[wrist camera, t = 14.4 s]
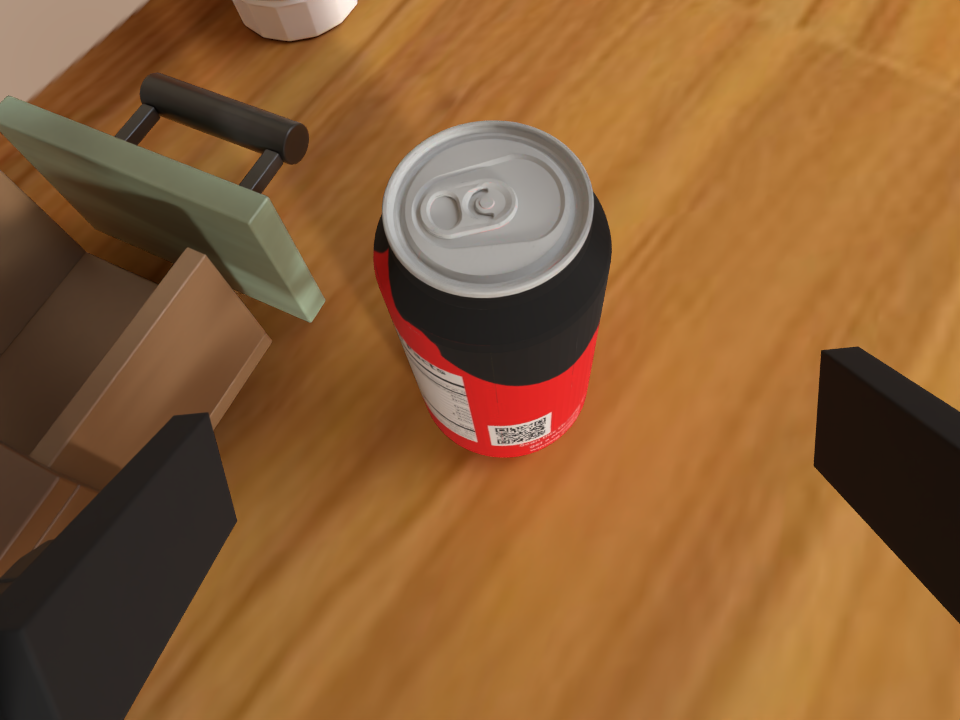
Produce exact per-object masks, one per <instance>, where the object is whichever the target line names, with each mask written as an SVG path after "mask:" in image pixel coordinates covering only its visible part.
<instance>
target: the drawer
mask: <svg viewBox="0 0 960 720" xmlns="http://www.w3.org/2000/svg"><path fill="white" fill-rule="evenodd" d="M140 99H141V102H142V105H141V106H140V107H139V109H138V110H137V111H136V112H135V113H134V114H133V115H132V117H131V118H130V119H129V120H128V121H127V122H126V124H125V125H124V126H123V127H122V128H121V129H120V131H119V132H118V133H117V134H116V135H115V136H111V135H109V134H106V133H104V132H101V131H99V130H96V129H93V128H91V127H88V126H86V125H83V124H81V123H78V122H76V121H73V120H70V119H68V118H65V117H63V116H60V115H58V114H55V113H53V112H50V111H47V110H45V109H42V108H40V107H37V106H35V105H32V104H30V103H27V102H24V101H22V100H19V99H17V98H14V97H12V96H7V97H6V98H5V99H4V100H3V101H2V102H1V103H0V132H1V133H2V134H3V135H4V136H5V137H6V138H7V139H8V140H9V141H10V142H11V143H12V144H13V145H14V146H15V147H16V148H17V149H18V150H19V151H20V153H21V154H22V155H23V156H24V157H25V158H26V159H27V160H28V161H29V162H30V163H31V164H32V165H33V166H34V167H35V168H36V169H37V170H38V171H39V172H40V173H41V174H42V175H43V176H44V177H45V178H46V179H47V180H48V181H49V182H50V183H51V184H52V185H53V186H54V187H55V188H56V189H57V190H58V191H59V192H60V193H61V194H62V195H63V197H64V198H65V199H66V200H67V201H68V202H69V203H70V204H71V205H72V206H73V207H74V208H75V209H76V210H77V211H78V212H79V213H80V214H81V215H82V216H83V217H84V218H85V219H86V220H87V221H88V222H89V223H90V224H91V225H92V226H93V227H94V228H95V229H96V230H99V231H101V232H103V233H106V234H108V235H110V236H112V237H115V238H117V239H119V240H122V241H124V242H126V243H128V244H131V245H133V246H135V247H138V248H140V249H142V250H145V251H147V252H149V253H151V254H154V255H156V256H158V257H161V258H163V259H165V260H167V261H170V262H172V263H174V265H173V266H172V267H171V269H170V270H169V271H168V273H167V274H166V275H165V277H164V278H163V279H162V281H161V282H160V283H159V284H157V283H154V282H152V281H150V280H148V279H145V278H143V277H141V276H139V275H136V274H134V273H132V272H130V271H128V270H125V269H123V268H121V267H119V266H116V265H114V264H112V263H110V262H107V261H105V260H103V259H101V258H99V257H96V256H94V255H92V254H90V253H87V252H85V250H84V249H83V248H82V247H81V246H80V245H79V244H78V243H77V242H76V241H74V240H73V239H72V238H71V237H70V236H69V235H68V234H67V233H66V232H65V231H64V230H63V229H62V228H61V227H60V226H59V225H58V224H57V223H56V222H55V221H53V220H52V219H51V218H50V217H49V216H48V215H47V214H46V213H45V212H44V211H43V210H42V209H41V208H40V207H39V206H38V205H37V204H36V203H35V202H34V201H32V200H31V199H30V198H29V197H28V196H27V195H26V194H25V193H24V192H23V191H22V190H21V189H20V188H19V187H18V186H17V185H16V184H15V183H14V182H13V181H11V180H10V179H9V178H8V177H7V176H6V175H5V174H4V173H3V172H2V171H1V170H0V440H1V441H3V442H4V443H6V444H8V445H10V446H12V447H13V448H15V449H17V450H19V451H21V452H22V453H24V454H26V455H28V456H30V457H31V458H33V459H35V460H37V461H39V462H40V463H42V464H44V465H46V466H48V467H49V468H51V469H53V470H55V471H56V472H58V473H61V474H64V475H66V476H68V477H71V478H73V479H75V480H77V481H80V482H82V483H84V484H87V485H89V486H91V487H94V488H96V489H98V490H102V489H103V488H104V487H105V486H106V485H107V484H108V483H109V482H110V481H111V480H112V479H113V478H114V477H115V476H116V475H117V474H118V473H119V472H120V471H121V470H122V469H123V467H124V466H125V465H126V464H127V463H128V462H129V461H130V460H131V459H132V458H133V457H134V456H135V455H136V454H137V453H138V452H139V451H140V450H141V449H142V448H143V447H144V446H145V445H146V444H147V443H148V442H149V441H150V439H151V438H152V437H153V436H154V435H155V434H156V433H157V432H158V431H159V430H160V429H161V428H162V427H163V426H164V425H165V424H166V423H167V422H168V421H169V420H170V419H171V418H172V417H173V416H174V415H184V414H194V413H204V412H208V413H209V416H210V420H211V424H212V428H213V430H214V429H215V427H216V426H217V424H218V423H219V421H220V420H221V418H222V417H223V415H224V414H225V412H226V411H227V409H228V408H229V406H230V405H231V403H232V402H233V400H234V399H235V397H236V396H237V394H238V393H239V391H240V390H241V388H242V387H243V385H244V384H245V382H246V381H247V379H248V378H249V376H250V375H251V373H252V372H253V370H254V369H255V367H256V366H257V364H258V363H259V361H260V360H261V358H262V357H263V355H264V354H265V352H266V351H267V349H268V348H269V346H270V345H271V343H272V340H271V339H270V337H269V336H268V335H267V333H266V332H265V330H264V329H263V328H262V327H261V325H260V324H259V323H258V321H257V320H256V319H255V318H254V316H253V315H252V314H251V312H250V311H249V310H248V309H247V307H246V306H245V305H244V303H243V302H242V301H241V300H240V298H239V297H238V296H237V294H236V293H235V292H234V290H236V291H239V292H241V293H243V294H245V295H248V296H250V297H252V298H255V299H257V300H259V301H261V302H264V303H266V304H268V305H271V306H273V307H275V308H278V309H280V310H282V311H284V312H287V313H289V314H291V315H294V316H296V317H298V318H300V319H303V320H305V321H307V322H312V321H313V319H314V318H315V316H316V315H317V313H318V312H319V310H320V309H321V307H322V306H323V304H324V302H325V298H324V297H323V295H322V293H321V291H320V289H319V287H318V286H317V284H316V282H315V280H314V278H313V277H312V275H311V273H310V271H309V269H308V268H307V266H306V264H305V262H304V260H303V259H302V257H301V255H300V253H299V251H298V249H297V248H296V246H295V244H294V242H293V240H292V239H291V237H290V235H289V233H288V231H287V230H286V228H285V226H284V224H283V222H282V220H281V219H280V217H279V215H278V213H277V211H276V210H275V208H274V206H273V204H272V202H271V201H270V199H269V197H267V196H265V195H262V194H261V193H262V192H263V190H264V189H265V188H266V186H267V185H268V184H269V182H270V181H271V180H272V178H273V177H274V176H275V174H276V173H277V171H278V170H279V169H280V167H281V166H282V165H283V162H285V163H287V164H291V165H293V164H297V163H298V162H300V161H301V160H302V158H303V157H304V155H305V153H306V151H307V148H308V143H309V134H308V130H307V128H306V127H305V126H304V125H303V124H302V123H299V122H296V121H293V120H290V119H288V118H285V117H282V116H279V115H276V114H274V113H271V112H268V111H265V110H262V109H259V108H257V107H254V106H251V105H248V104H245V103H243V102H240V101H237V100H234V99H231V98H228V97H226V96H223V95H220V94H217V93H214V92H212V91H209V90H206V89H203V88H200V87H197V86H195V85H192V84H189V83H186V82H183V81H181V80H178V79H175V78H172V77H169V76H167V75H164V74H161V73H152V74H150V75H148V76H147V77H146V78H145V79H144V81H143V83H142V85H141V88H140ZM160 116H162V117H164V118H167V119H170V120H172V121H175V122H178V123H180V124H183V125H186V126H188V127H191V128H194V129H196V130H199V131H202V132H204V133H207V134H210V135H212V136H215V137H218V138H221V139H223V140H226V141H229V142H231V143H234V144H237V145H239V146H242V147H245V148H247V149H250V150H253V151H255V152H258V153H261V154H262V155H261V157H260V158H259V159H258V160H257V162H256V163H255V164H254V166H253V167H252V168H251V170H250V171H249V172H248V174H247V175H246V176H245V178H244V179H243V180H242V182H241V183H240V184H239V185H237V184H234V183H232V182H229V181H227V180H224V179H221V178H219V177H216V176H214V175H211V174H209V173H206V172H203V171H201V170H198V169H196V168H193V167H191V166H188V165H186V164H183V163H180V162H178V161H175V160H173V159H170V158H168V157H165V156H163V155H160V154H157V153H155V152H152V151H150V150H147V149H145V148H142V147H140V146H137V145H138V144H139V143H140V141H141V140H142V139H143V138H144V137H145V136H146V134H147V133H148V132H149V131H150V130H151V128H152V127H153V126H154V125H155V124H156V123H157V121H158V120H159V119H160ZM233 289H234V290H233Z"/></svg>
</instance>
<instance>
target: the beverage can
mask: <svg viewBox="0 0 960 720" xmlns="http://www.w3.org/2000/svg"><path fill="white" fill-rule="evenodd" d="M611 253H612V244H611V235H610V230H609V226H608V222H607V219H606V215H605V213H604V210H603V208H602V206H601V204H600V202H599V200H598V198H597V197H596V195H595V194H594V192H593V190H592V186H591V182H590V179H589V177H588V174H587V172H586V170H585V168H584V166H583V165H582V163H581V162H580V160H579V159H578V158H577V157H576V155H575V154H574V153H573V152H572V151H571V150H570V149H569V148H568V147H567V146H566V145H564V144H563V143H562V142H561V141H559V140H558V139H556V138H555V137H553V136H551V135H550V134H548V133H546V132H544V131H541V130H539V129H537V128H534V127H531V126H528V125H524V124H520V123H515V122H508V121H478V122H471V123H466V124H462V125H458V126H455V127H451V128H449V129H446V130H444V131H441V132H439V133H437V134H435V135H433V136H431V137H430V138H428V139H426V140H425V141H423V142H422V143H420V144H419V145H418V146H416V147H415V148H414V149H413V150H412V151H410V152H409V153H408V154H407V155H406V156H405V157H404V158H403V160H402V161H401V162H400V163H399V165H398V166H397V167H396V169H395V171H394V172H393V174H392V176H391V178H390V179H389V182H388V184H387V187H386V189H385V193H384V197H383V204H382V215H381V217H380V220H379V223H378V226H377V230H376V234H375V241H374V256H373V260H374V270H375V275H376V279H377V282H378V285H379V288H380V291H381V293H382V296H383V298H384V301H385V303H386V306H387V308H388V311H389V313H390V316H391V318H392V321H393V323H394V326H395V328H396V331H397V333H398V336H399V338H400V341H401V343H402V346H403V348H404V351H405V353H406V356H407V358H408V361H409V364H410V366H411V369H412V371H413V374H414V376H415V379H416V381H417V384H418V386H419V389H420V391H421V394H422V396H423V399H424V401H425V404H426V406H427V409H428V411H429V413H430V415H431V417H432V419H433V420H434V422H435V423H436V425H437V426H438V427H439V429H440V430H441V431H442V432H443V433H444V434H445V435H446V436H447V437H449V438H450V439H451V440H452V441H454V442H455V443H456V444H458V445H460V446H462V447H463V448H465V449H467V450H470V451H472V452H475V453H478V454H481V455H486V456H491V457H504V458H505V457H517V456H523V455H527V454H530V453H533V452H536V451H538V450H541V449H543V448H545V447H547V446H548V445H550V444H552V443H553V442H555V441H556V440H557V439H559V438H560V437H561V436H562V435H563V434H564V433H565V432H566V431H567V430H568V429H569V428H570V427H571V426H572V424H573V423H574V422H575V420H576V419H577V417H578V415H579V414H580V411H581V409H582V407H583V404H584V401H585V398H586V393H587V388H588V383H589V378H590V372H591V367H592V361H593V356H594V350H595V345H596V339H597V334H598V328H599V323H600V317H601V312H602V306H603V301H604V296H605V290H606V285H607V279H608V274H609V268H610V263H611Z"/></svg>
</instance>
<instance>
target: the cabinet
mask: <svg viewBox="0 0 960 720" xmlns="http://www.w3.org/2000/svg"><path fill="white" fill-rule="evenodd" d="M100 491H101V490H98V489H96V488H94V487H91V486H89V485H87V484H84V483H82V482H80V481H77V480H75V479H73V478H71V477H68V476H66V475H64V474H61V473H58V472H56V471H55V470H53V469H51V468H49V467H48V466H46V465H44V464H42V463H40V462H39V461H37V460H35V459H33V458H31V457H30V456H28V455H26V454H24V453H22V452H21V451H19V450H17V449H15V448H13V447H12V446H10V445H8V444H6V443H4V442H3V441H1V440H0V577H1V576H2V575H3V574H4V573H5V572H6V571H7V570H8V569H9V568H10V567H11V566H12V565H13V564H14V563H15V562H16V561H17V560H18V559H20V558H21V557H23V556H24V555H26V554H27V553H29V552H30V551H32V550H34V549H35V548H37V547H38V546H40V545H41V544H43V543H44V542H46V541H47V540H52V539H55V538H56V537H57V536H58V535H59V534H60V533H61V532H62V531H63V530H64V529H65V528H66V527H67V526H68V524H69V523H70V522H71V521H72V520H73V519H74V518H75V517H76V516H77V515H78V514H79V513H80V512H81V511H82V510H83V509H84V508H85V507H86V506H87V505H88V504H89V503H90V502H91V501H92V500H93V499H94V498H95V497H96V495H97V494H98V493H99V492H100Z"/></svg>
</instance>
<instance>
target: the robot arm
mask: <svg viewBox="0 0 960 720" xmlns="http://www.w3.org/2000/svg"><path fill="white" fill-rule="evenodd" d="M814 467H815V468H816V469H817V470H818V471H819V472H820V473H821V474H822V475H823V476H824V478H825V479H826V480H827V481H828V482H829V483H830V484H831V485H832V486H833V487H834V488H835V489H836V490H837V492H838V493H839V494H840V495H841V496H842V497H843V498H844V499H845V500H846V501H847V502H848V503H849V505H850V506H851V507H852V508H853V509H854V510H855V511H856V512H857V513H858V514H859V515H860V516H861V518H862V519H863V520H864V521H865V522H866V523H867V524H868V525H869V526H870V527H871V528H872V529H873V530H874V532H875V533H876V534H877V535H878V536H879V537H880V538H881V539H882V540H883V541H884V542H885V543H886V545H887V546H888V547H889V548H890V549H891V550H892V551H893V552H894V553H895V554H896V555H897V556H898V558H899V559H900V560H901V561H902V562H903V563H904V564H905V565H906V566H907V567H908V568H909V569H910V570H911V572H912V573H913V574H914V575H915V576H916V577H917V578H918V579H919V580H920V581H921V582H922V583H923V585H924V586H925V587H926V588H927V589H928V590H929V591H930V592H931V593H932V594H933V595H934V596H935V598H936V599H937V600H938V601H939V602H940V603H941V604H942V605H943V606H944V607H945V608H946V609H947V610H948V612H949V613H950V614H951V615H952V616H953V617H954V618H955V619H956V620H957V621H958V622H959V623H960V412H959V411H958V410H956V409H955V408H953V407H951V406H950V405H948V404H947V403H945V402H944V401H942V400H941V399H939V398H937V397H936V396H934V395H933V394H931V393H930V392H928V391H926V390H925V389H923V388H922V387H920V386H919V385H917V384H916V383H914V382H912V381H911V380H909V379H908V378H906V377H905V376H903V375H902V374H900V373H898V372H897V371H895V370H894V369H892V368H891V367H889V366H888V365H886V364H884V363H883V362H881V361H880V360H878V359H877V358H875V357H874V356H872V355H870V354H869V353H867V352H866V351H864V350H863V349H861V348H860V347H849V348H840V349H830V350H821V363H820V378H819V393H818V408H817V423H816V438H815V453H814ZM236 522H237V518H236V514H235V511H234V507H233V503H232V499H231V496H230V492H229V488H228V484H227V480H226V477H225V473H224V469H223V465H222V462H221V458H220V454H219V450H218V447H217V443H216V439H215V435H214V431H213V428H212V424H211V420H210V416H209V413H208V412H204V413H194V414H184V415H174V416H173V417H172V418H171V419H170V420H169V421H168V422H167V423H166V424H165V425H164V426H163V427H162V428H161V429H160V430H159V431H158V432H157V433H156V434H155V435H154V436H153V437H152V438H151V439H150V441H149V442H148V443H147V444H146V445H145V446H144V447H143V448H142V449H141V450H140V451H139V452H138V453H137V454H136V455H135V456H134V457H133V458H132V459H131V460H130V461H129V462H128V463H127V464H126V465H125V466H124V467H123V469H122V470H121V471H120V472H119V473H118V474H117V475H116V476H115V477H114V478H113V479H112V480H111V481H110V482H109V483H108V484H107V485H106V486H105V487H104V488H103V489H102V490H101V491H100V492H99V493H98V494H97V495H96V497H95V498H94V499H93V500H92V501H91V502H90V503H89V504H88V505H87V506H86V507H85V508H84V509H83V510H82V511H81V512H80V513H79V514H78V515H77V516H76V517H75V518H74V519H73V520H72V521H71V522H70V523H69V524H68V526H67V527H66V528H65V529H64V530H63V531H62V532H61V533H60V534H59V535H58V536H57V537H56V538H55V539H52V540H47V541H46V542H44V543H43V544H41V545H40V546H38V547H37V548H35V549H34V550H32V551H30V552H29V553H27V554H26V555H24V556H23V557H21V558H20V559H18V560H17V561H16V562H15V563H14V564H13V565H12V566H11V567H10V568H9V569H8V570H7V571H6V572H5V573H4V574H3V575H2V576H1V577H0V720H124V718H125V716H126V715H127V713H128V711H129V709H130V708H131V706H132V704H133V702H134V701H135V699H136V697H137V695H138V694H139V692H140V690H141V688H142V687H143V685H144V683H145V681H146V679H147V678H148V676H149V674H150V672H151V671H152V669H153V667H154V665H155V664H156V662H157V660H158V658H159V657H160V655H161V653H162V651H163V650H164V648H165V646H166V644H167V643H168V641H169V639H170V637H171V636H172V634H173V632H174V630H175V629H176V627H177V625H178V623H179V622H180V620H181V618H182V616H183V615H184V613H185V611H186V609H187V608H188V606H189V604H190V602H191V601H192V599H193V597H194V595H195V594H196V592H197V590H198V588H199V587H200V585H201V583H202V581H203V580H204V578H205V576H206V574H207V573H208V571H209V569H210V567H211V566H212V564H213V562H214V560H215V559H216V557H217V555H218V553H219V552H220V550H221V548H222V546H223V545H224V543H225V541H226V539H227V538H228V536H229V534H230V532H231V531H232V529H233V527H234V525H235V524H236Z"/></svg>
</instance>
